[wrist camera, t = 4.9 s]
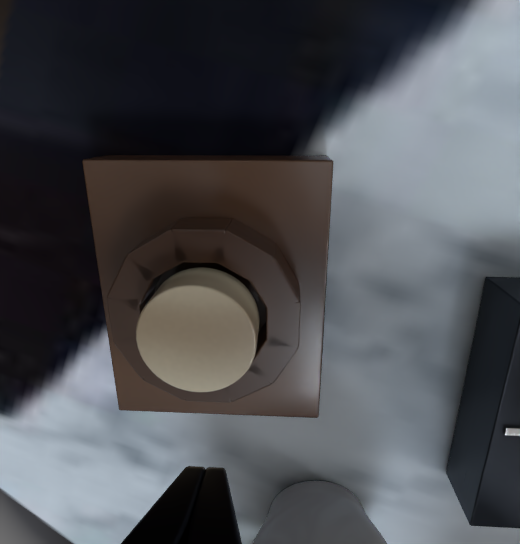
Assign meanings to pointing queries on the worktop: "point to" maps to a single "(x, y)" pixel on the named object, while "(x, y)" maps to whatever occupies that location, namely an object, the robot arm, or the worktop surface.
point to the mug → (317, 517)
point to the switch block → (217, 266)
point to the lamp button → (199, 330)
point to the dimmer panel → (491, 413)
